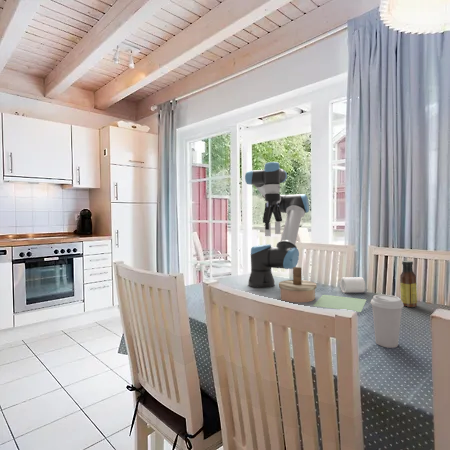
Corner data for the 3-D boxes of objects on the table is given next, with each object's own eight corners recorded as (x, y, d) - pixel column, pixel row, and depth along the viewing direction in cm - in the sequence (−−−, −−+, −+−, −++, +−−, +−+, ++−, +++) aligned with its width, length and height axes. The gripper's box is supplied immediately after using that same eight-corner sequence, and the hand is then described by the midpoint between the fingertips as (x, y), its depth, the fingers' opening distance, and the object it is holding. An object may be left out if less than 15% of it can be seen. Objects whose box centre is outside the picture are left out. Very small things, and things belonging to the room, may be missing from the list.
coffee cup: (364, 338, 107) (364, 294, 106) (391, 336, 108) (391, 293, 107) (381, 350, 98) (381, 302, 97) (410, 348, 99) (410, 301, 98)
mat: (323, 295, 159) (323, 294, 159) (366, 300, 149) (366, 299, 149) (312, 307, 142) (312, 305, 142) (361, 313, 132) (361, 312, 132)
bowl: (287, 292, 166) (287, 281, 166) (318, 296, 158) (318, 284, 158) (276, 300, 153) (275, 288, 152) (309, 305, 144) (309, 292, 144)
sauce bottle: (415, 304, 142) (415, 260, 141) (418, 308, 136) (419, 262, 135) (398, 303, 144) (399, 259, 143) (401, 307, 139) (401, 262, 137)
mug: (365, 294, 159) (365, 279, 159) (345, 295, 160) (345, 279, 159) (356, 288, 171) (356, 274, 171) (337, 289, 172) (337, 274, 171)
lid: (285, 280, 167) (285, 263, 167) (320, 284, 158) (320, 265, 158) (273, 288, 152) (272, 269, 151) (310, 292, 143) (310, 272, 142)
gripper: (269, 192, 148) (270, 237, 149) (287, 193, 170) (288, 233, 171) (255, 192, 152) (256, 237, 153) (274, 194, 174) (275, 232, 175)
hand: (273, 235), depth 162 cm, fingers open, 13 cm apart
